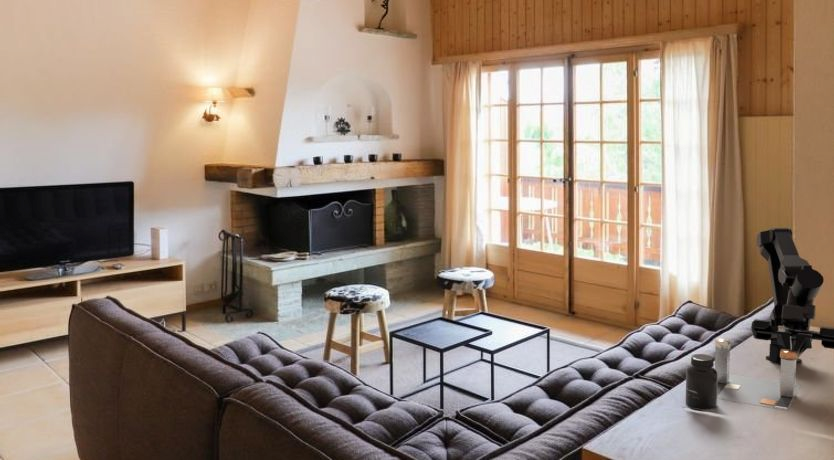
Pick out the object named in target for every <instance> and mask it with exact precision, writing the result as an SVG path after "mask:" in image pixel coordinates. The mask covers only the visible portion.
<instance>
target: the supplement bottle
mask: <svg viewBox="0 0 834 460" xmlns="http://www.w3.org/2000/svg"><path fill="white" fill-rule="evenodd" d="M690 360H691V361H690V366H689V367H688V368H687V369H686V370H685V371H686V372H685V405H687V406H688V407H689V408H690V409H692V410H693V411H698V412H704V411H707V410H713V409H715V408H717V403H718V398H717V383H718V373H717V371H716V370H715V358H714V357H713V356H712V355H710V354H705V353H696V354H691V357H690Z"/></svg>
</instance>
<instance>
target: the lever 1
mask: <svg viewBox="0 0 834 460" xmlns="http://www.w3.org/2000/svg"><path fill="white" fill-rule="evenodd" d="M731 343H732V342H731V340H730V339H729V338H724V337H722V338H721V337H719V338H715V339H714V347H715V348H714V349H715V351H714V369H715V370H716V371H717V373H718V383H724V384H727V383H728V381H729V374H730V371H731V370H730V366H731V365H730V360H731V357H730V356H731V348H732V346H731Z"/></svg>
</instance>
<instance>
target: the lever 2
mask: <svg viewBox="0 0 834 460" xmlns="http://www.w3.org/2000/svg"><path fill="white" fill-rule="evenodd" d="M797 356H798V352H797V351H795V350H792V349H782V350H780V358H781V364H780V374H779V376H780V377H779V378H780V379H779V382H780V395H781V396H787V397H794V395H795V385H796V383H797V382H796V381H797V380H796V376H797V363H796V360H797ZM795 396H796V395H795ZM794 398H795V397H794Z"/></svg>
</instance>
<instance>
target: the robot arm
mask: <svg viewBox="0 0 834 460" xmlns="http://www.w3.org/2000/svg"><path fill="white" fill-rule="evenodd" d="M793 238H794V237H793V231H792V229H791V228H789V227H773V228H770V229H768V230H761V231H760V232H759V233H758V234H757V235H756V239H755V240H756V246H757V247H758V248H759V249H758V250H759V254H760V256H762V257H763V258H764V259H765V261H767V266H768V272H769V280H770V286H771V293H772V298H773V299H772V301H773V305H774V307H773V309H772V310H771V313H770V315H769V318H768V319H767V320H766V319H757V318H755V319H754V320H752V323H751V328H750V329H751V331H752V335H753V339H755V340H762V341H767V342H768V341H770V343H769V355H767V356H765V359H767V360H769V361H773V362H775V363H778V364H779V365H781V358H780V350H782V349H792V350H795V351H797V352H798V356H797V360H796V364H797V363H802V361H803V359H802V358H799V357H800V356H801V355H802V354H803V353H804V352H805V351H806V350H808V349H809V350H810V349H813V344H812V342H813V341H814V340H815V341H821V343H820V345H821V346H822V347H823V348H825V349H832V350H834V327H828V326H823V325H822V326H820V328H819V331H816V330H810V328H811V322H812V320H814V321H815V319H816V308H817V307H816V305H815V304H814V300H815V298H817V296H818V294H819V292H820V290H821V288H822V285H823V284H824V276H823V275H822V274H821V272H819V271H818V270H816V269H814V268H813V265H812V264H810V263H809V261H807V260H806V259H804V258H802V257H801V256H800V253H799V251H798V249H797V247H796V244H795V241H794V239H793Z"/></svg>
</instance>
